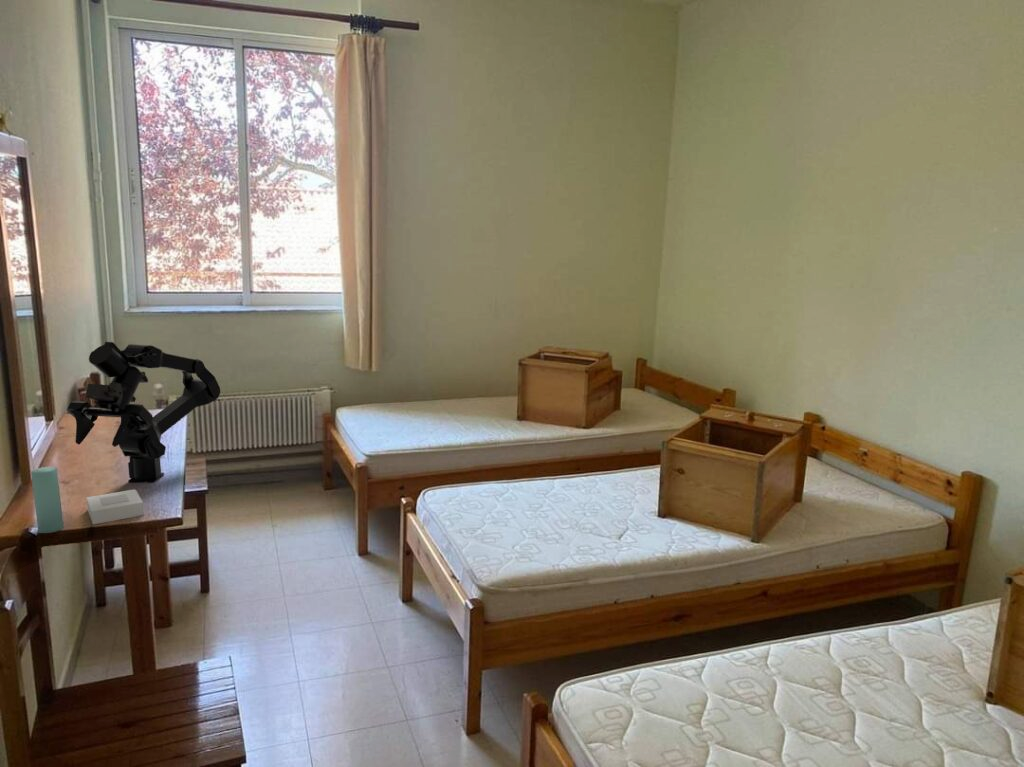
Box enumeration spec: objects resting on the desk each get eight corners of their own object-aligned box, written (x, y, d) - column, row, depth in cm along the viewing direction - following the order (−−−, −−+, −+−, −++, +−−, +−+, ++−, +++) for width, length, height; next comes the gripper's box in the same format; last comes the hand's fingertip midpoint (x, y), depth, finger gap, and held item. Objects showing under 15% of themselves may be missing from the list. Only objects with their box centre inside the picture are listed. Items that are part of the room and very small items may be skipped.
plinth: (136, 501, 171) (135, 488, 171) (144, 514, 163) (142, 501, 163) (87, 510, 166) (86, 497, 165) (92, 524, 158) (91, 510, 157)
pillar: (62, 522, 158) (56, 465, 155) (64, 530, 154) (58, 471, 152) (37, 527, 156) (30, 469, 153) (38, 534, 152) (31, 475, 149)
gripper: (68, 367, 172) (37, 425, 163) (140, 371, 169) (113, 429, 161) (94, 393, 181) (66, 448, 173) (164, 396, 179) (139, 453, 170)
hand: (95, 444), depth 169 cm, fingers open, 9 cm apart
